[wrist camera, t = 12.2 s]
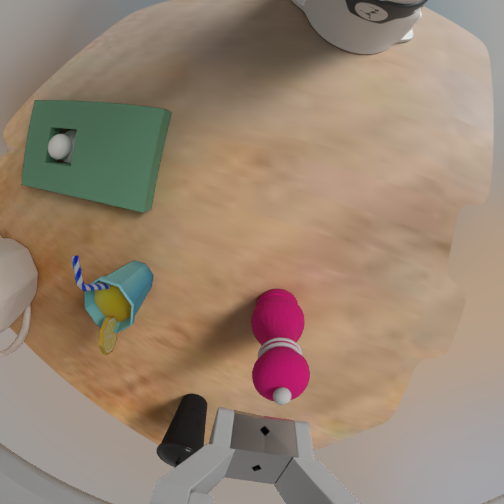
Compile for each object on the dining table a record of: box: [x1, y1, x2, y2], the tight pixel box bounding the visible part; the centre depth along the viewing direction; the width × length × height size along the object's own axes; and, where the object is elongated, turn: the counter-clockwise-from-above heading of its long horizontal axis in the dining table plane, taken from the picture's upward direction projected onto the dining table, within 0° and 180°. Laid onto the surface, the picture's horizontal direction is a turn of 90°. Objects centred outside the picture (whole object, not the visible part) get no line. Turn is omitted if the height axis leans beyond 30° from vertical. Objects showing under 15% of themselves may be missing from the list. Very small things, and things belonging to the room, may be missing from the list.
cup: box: [72, 256, 153, 355], centre depth 37 cm, size 14×8×15 cm, turn 8°
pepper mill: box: [251, 289, 310, 405], centre depth 36 cm, size 7×7×20 cm
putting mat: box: [21, 100, 172, 213], centre depth 38 cm, size 14×24×3 cm, turn 76°
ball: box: [48, 134, 72, 159], centre depth 37 cm, size 4×4×4 cm
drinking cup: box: [157, 394, 207, 467], centre depth 42 cm, size 8×8×20 cm
